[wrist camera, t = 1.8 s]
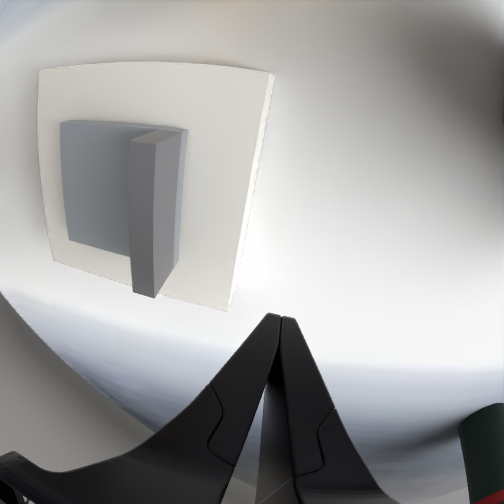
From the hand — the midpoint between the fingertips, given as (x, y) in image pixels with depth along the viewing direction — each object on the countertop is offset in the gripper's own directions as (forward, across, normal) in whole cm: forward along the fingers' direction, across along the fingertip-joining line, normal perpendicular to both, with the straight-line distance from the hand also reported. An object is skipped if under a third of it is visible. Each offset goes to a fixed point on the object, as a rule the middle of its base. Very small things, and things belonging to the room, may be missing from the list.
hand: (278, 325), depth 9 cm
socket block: (+10, +9, 0) cm, 14 cm away
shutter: (+7, +9, 0) cm, 12 cm away
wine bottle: (+10, -35, +23) cm, 43 cm away
